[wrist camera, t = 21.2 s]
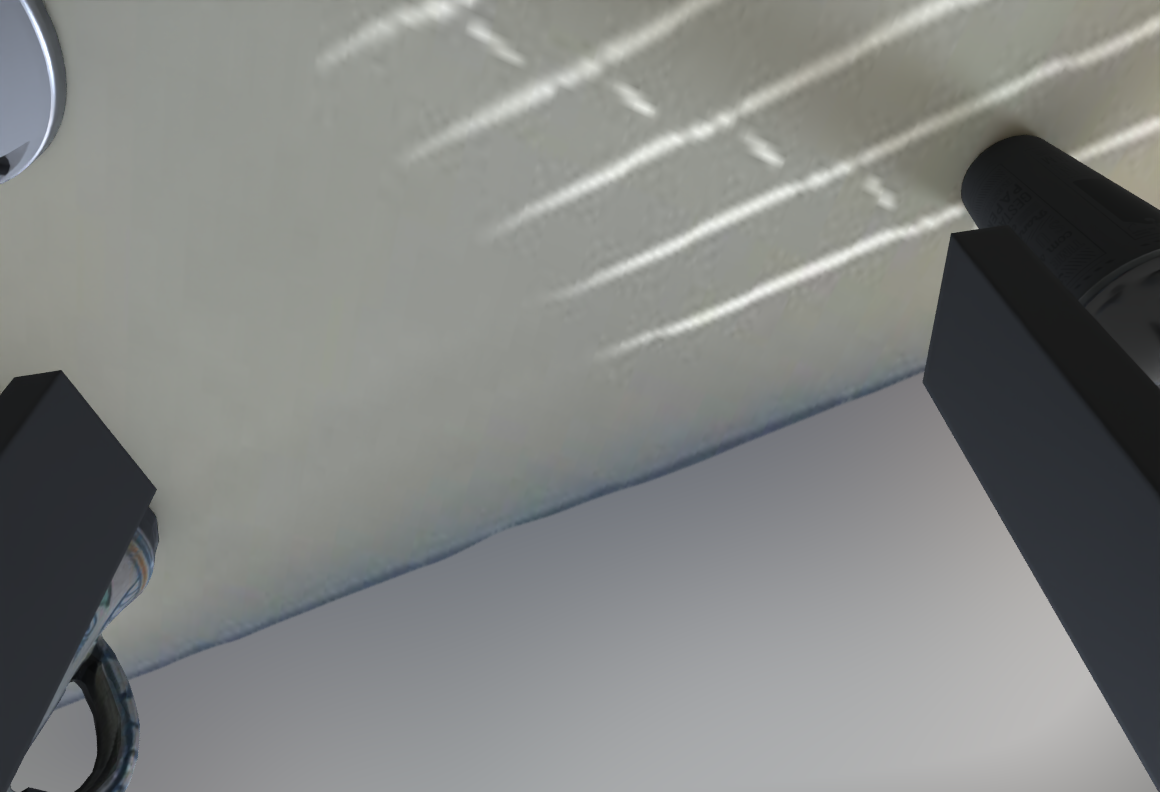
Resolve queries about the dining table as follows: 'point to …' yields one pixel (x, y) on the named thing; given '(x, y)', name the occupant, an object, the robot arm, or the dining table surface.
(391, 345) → the dining table surface
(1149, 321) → the drinking cup
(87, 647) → the beer stein
